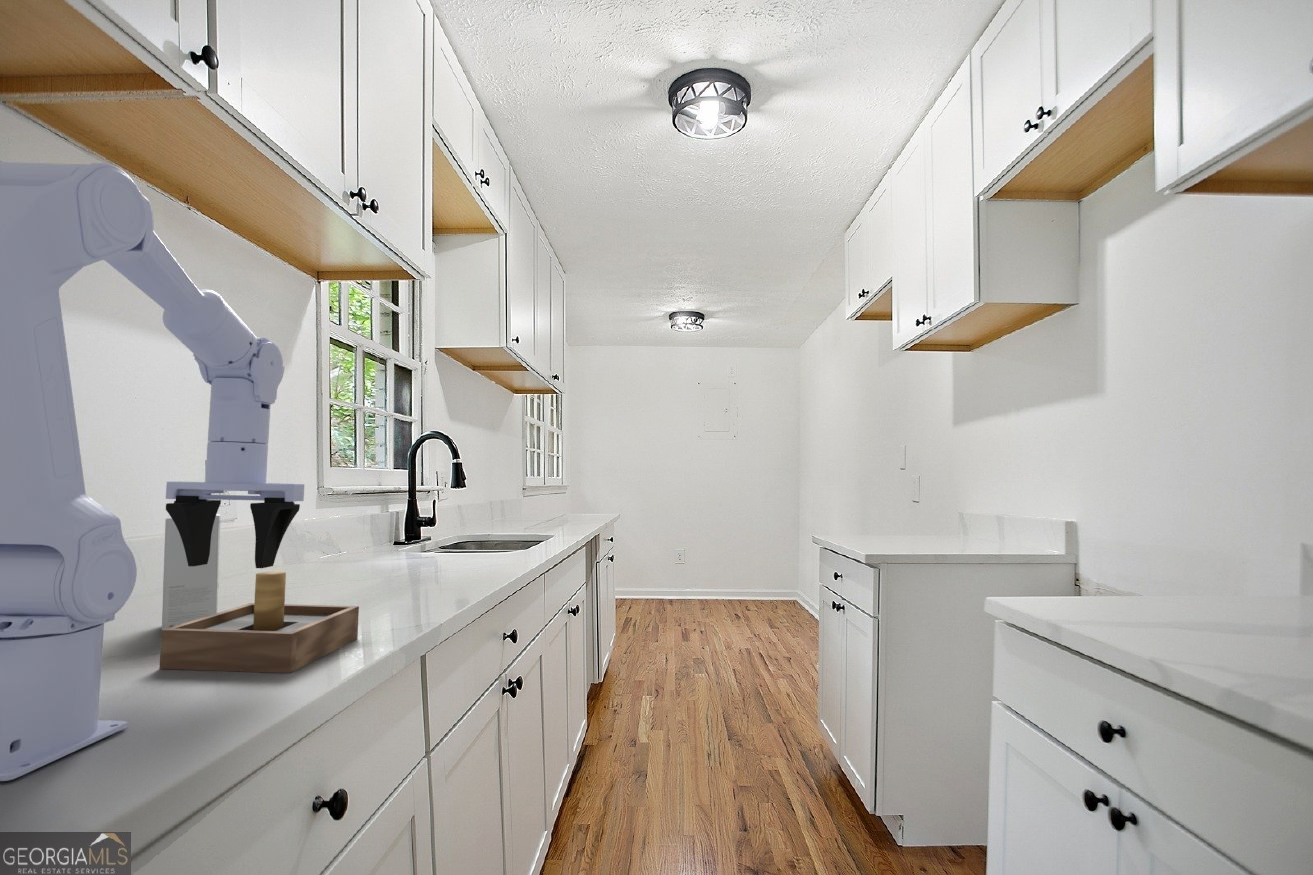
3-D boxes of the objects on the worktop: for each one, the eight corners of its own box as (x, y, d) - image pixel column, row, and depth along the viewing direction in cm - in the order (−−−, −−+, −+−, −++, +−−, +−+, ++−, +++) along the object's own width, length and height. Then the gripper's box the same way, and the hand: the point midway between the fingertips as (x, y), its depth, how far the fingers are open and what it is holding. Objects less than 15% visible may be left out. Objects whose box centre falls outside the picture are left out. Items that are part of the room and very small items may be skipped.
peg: (273, 647, 73) (276, 575, 73) (246, 646, 73) (250, 575, 73) (288, 640, 76) (291, 571, 76) (262, 640, 76) (265, 571, 76)
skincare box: (216, 631, 83) (223, 515, 84) (157, 637, 80) (164, 516, 81) (217, 618, 90) (223, 511, 91) (163, 623, 87) (169, 512, 88)
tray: (290, 672, 67) (292, 633, 67) (159, 668, 68) (161, 629, 68) (357, 638, 81) (358, 606, 81) (248, 635, 82) (250, 603, 82)
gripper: (321, 446, 76) (315, 563, 75) (202, 444, 77) (195, 559, 76) (284, 442, 69) (277, 571, 68) (153, 440, 70) (145, 568, 69)
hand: (231, 566), depth 72 cm, fingers open, 7 cm apart
